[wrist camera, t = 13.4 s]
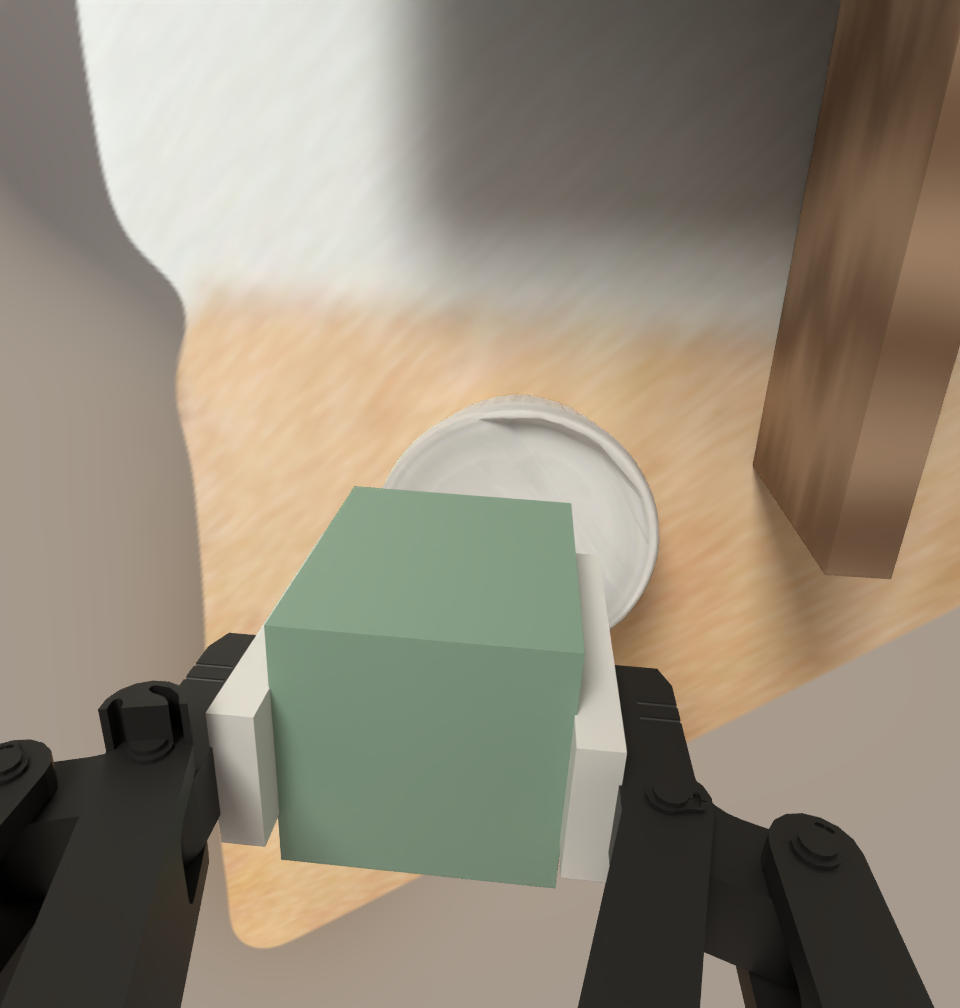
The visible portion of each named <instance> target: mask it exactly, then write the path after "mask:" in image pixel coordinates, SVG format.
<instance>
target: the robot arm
mask: <svg viewBox="0 0 960 1008" xmlns="http://www.w3.org/2000/svg"><path fill="white" fill-rule="evenodd" d="M323 534H324V533H323ZM323 534H322V536H323ZM322 536H321V537H322ZM321 537H320V539H321ZM320 539H319V540H320ZM319 540H318V542H319ZM318 542H317V543H318ZM317 543H316V545H317ZM316 545H315V546H316ZM315 546H314V548H315ZM314 548H313V549H314ZM313 549H312V551H313ZM312 551H311V552H312ZM311 552H310V554H311ZM310 554H309V555H308V557H309V556H310ZM308 557H307V559H308ZM307 559H306V560H307ZM306 560H305V562H306ZM576 561H577V572H578V583H579V594H580V604H581V615H582V626H583V637H584V648H585V658H584V665H583V673H582V681H581V689H580V697H579V705H578V713H577V715H575V717H574V725H573V734H572V742H571V750H570V759H569V767H568V775H567V783H566V792H565V800H564V808H563V817H562V825H561V833H560V878H566V879H577V880H585V881H595V882H604V883H606V884H605V889H604V893H603V898H602V902H601V907H600V911H599V916H598V920H597V924H596V929H595V933H594V938H593V942H592V947H591V951H590V956H589V960H588V965H587V969H586V974H585V978H584V982H583V987H582V992H581V996H580V1000H579V1005H578V1008H700V998H701V985H702V984H701V983H702V971H703V957H704V952H705V953H707V954H710V955H712V956H715V957H717V958H719V959H722V960H724V961H726V962H729V963H731V964H734V965H736V969H737V973H738V977H739V982H740V986H741V990H742V994H743V999H744V1003H745V1008H934V1006H933V1004H932V1002H931V999H930V998H929V995H928V993H927V991H926V989H925V986H924V984H923V982H922V980H921V978H920V976H919V974H918V971H917V969H916V967H915V965H914V963H913V960H912V959H911V956H910V954H909V952H908V950H907V948H906V945H905V943H904V941H903V939H902V937H901V935H900V933H899V930H898V928H897V926H896V924H895V922H894V919H893V917H892V915H891V913H890V911H889V909H888V907H887V904H886V902H885V900H884V898H883V895H882V893H881V891H880V889H879V887H878V885H877V882H876V880H875V878H874V876H873V874H872V872H871V870H870V867H869V865H868V863H867V861H866V859H865V856H864V854H863V853H862V851H861V850H860V848H859V847H858V846H857V844H856V843H855V841H854V840H853V839H852V838H851V837H850V836H849V835H847V834H846V833H845V832H844V831H842V830H841V829H840V828H839V827H838V826H836V825H833V824H831V823H830V822H828V821H826V820H824V819H822V818H819V817H815V816H811V815H807V814H803V813H798V814H785V815H783V816H781V817H779V818H777V819H775V820H774V821H773V823H772V825H771V826H770V828H769V829H767V828H764V827H761V826H758V825H755V824H752V823H750V822H747V821H744V820H741V819H739V818H737V817H734V816H732V815H730V814H728V813H726V812H724V811H723V810H721V809H720V808H718V807H717V806H715V805H714V804H713V803H712V798H711V797H710V795H709V794H708V793H707V791H706V790H705V788H704V787H703V786H702V785H701V784H700V783H698V782H697V781H696V779H695V776H694V772H693V768H692V764H691V760H690V756H689V752H688V748H687V744H686V740H685V736H684V732H683V728H682V724H681V723H680V716H679V712H678V708H676V705H677V704H676V700H675V696H674V692H673V688H672V686H671V684H670V683H669V682H668V681H667V680H666V679H665V677H664V676H663V675H662V674H661V673H660V672H659V670H658V669H653V668H642V667H631V666H619V665H614V658H613V651H612V644H611V637H610V629H609V622H608V615H607V608H606V601H605V594H604V587H603V580H602V573H601V566H600V559H599V555H592V554H579V553H576ZM305 562H304V563H305ZM304 563H303V565H304ZM303 565H302V566H303ZM302 566H301V568H302ZM301 568H300V569H301ZM300 569H299V571H300ZM299 571H298V572H299ZM298 572H297V574H298ZM297 574H296V575H297ZM296 575H295V577H296ZM295 577H294V578H293V580H294V579H295ZM293 580H292V581H291V583H292V582H293ZM291 583H290V585H291ZM290 585H289V586H290ZM289 586H288V588H289ZM288 588H287V589H288ZM287 589H286V591H287ZM286 591H285V592H286ZM285 592H284V594H285ZM284 594H283V595H284ZM283 595H282V597H283ZM282 597H281V598H280V600H281V599H282ZM280 600H279V601H278V603H279V602H280ZM278 603H277V604H276V606H277V605H278ZM276 606H275V607H274V609H275V608H276ZM274 609H273V611H274ZM273 611H272V612H273ZM272 612H271V614H272ZM271 614H270V615H271ZM270 615H269V617H270ZM269 617H268V618H269ZM268 618H267V620H268ZM267 620H266V621H265V623H266V622H267ZM265 623H264V624H263V626H262V627H261V629H260V630H259V632H258V633H257V635H248V634H237V633H228V634H227V635H225V636H223V637H222V638H220V639H219V640H217V641H216V642H214V643H213V644H211V645H210V646H208V648H207V649H206V650H205V652H204V653H203V655H202V656H201V657H200V658H199V660H198V661H197V662H196V666H194V667H193V668H192V669H191V671H190V672H189V673H188V675H187V677H186V680H183V681H182V683H181V684H180V685H176V684H173V683H171V682H166V681H149V682H143V683H137V684H134V685H131V686H129V687H126V688H123V689H121V690H119V691H117V692H116V693H114V694H113V695H111V696H110V697H109V698H107V699H106V700H105V701H104V703H103V704H102V705H101V706H100V708H99V709H98V712H99V716H100V722H101V727H102V732H103V737H104V742H105V748H106V753H105V754H102V755H98V756H93V757H88V758H80V759H72V760H65V761H58V762H54V761H53V757H52V752H51V750H50V749H49V748H48V747H47V746H46V745H45V744H44V743H42V742H38V741H34V740H13V741H9V742H5V743H1V744H0V1008H181V1002H182V997H183V992H184V987H185V982H186V977H187V971H188V966H189V962H190V957H191V951H192V946H193V941H194V936H195V931H196V926H197V921H198V915H199V911H200V906H201V900H202V895H203V890H204V885H205V880H206V875H207V869H208V865H209V853H208V844H207V839H208V837H209V836H210V834H211V832H212V830H213V828H214V826H215V824H216V822H217V820H218V818H219V826H220V834H221V842H224V843H234V844H243V845H253V846H262V847H265V846H266V844H267V841H268V839H269V837H270V834H271V832H272V830H273V827H274V825H275V823H276V820H277V818H278V816H279V801H278V788H277V775H276V762H275V749H274V736H273V723H272V710H271V697H270V688H269V686H268V672H267V659H266V645H265V632H264V625H265ZM609 865H610V866H609ZM608 869H609V870H608Z"/></svg>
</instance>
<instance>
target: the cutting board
mask: <svg viewBox="0 0 960 1008" xmlns="http://www.w3.org/2000/svg"><path fill="white" fill-rule="evenodd" d="M959 346H960V0H841V3H840V8H839V14H838V19H837V24H836V29H835V35H834V40H833V45H832V51H831V56H830V61H829V66H828V72H827V77H826V82H825V87H824V93H823V98H822V103H821V109H820V114H819V119H818V124H817V130H816V135H815V140H814V145H813V151H812V156H811V161H810V167H809V172H808V177H807V182H806V188H805V193H804V198H803V203H802V209H801V214H800V219H799V225H798V230H797V235H796V240H795V246H794V251H793V256H792V261H791V267H790V272H789V277H788V283H787V288H786V293H785V298H784V304H783V309H782V314H781V319H780V325H779V330H778V335H777V341H776V346H775V351H774V356H773V362H772V367H771V372H770V377H769V383H768V388H767V393H766V399H765V404H764V409H763V414H762V420H761V425H760V430H759V436H758V441H757V446H756V451H755V457H754V462H753V466H754V468H755V469H756V471H757V472H758V474H759V475H760V477H761V478H762V480H763V481H764V483H765V485H766V486H767V488H768V489H769V491H770V492H771V494H772V495H773V497H774V498H775V500H776V501H777V503H778V504H779V506H780V507H781V509H782V510H783V512H784V513H785V515H786V516H787V518H788V519H789V521H790V522H791V524H792V525H793V527H794V528H795V530H796V531H797V533H798V535H799V536H800V538H801V539H802V541H803V542H804V544H805V545H806V547H807V548H808V550H809V551H810V553H811V554H812V556H813V557H814V559H815V560H816V562H817V563H818V565H819V566H820V568H821V569H822V571H823V572H824V574H825V575H835V576H850V577H865V578H881V579H891V577H892V574H893V571H894V567H895V564H896V560H897V557H898V554H899V550H900V547H901V543H902V540H903V537H904V533H905V530H906V526H907V523H908V520H909V516H910V513H911V509H912V506H913V503H914V499H915V496H916V492H917V489H918V485H919V482H920V479H921V475H922V472H923V468H924V465H925V462H926V458H927V455H928V451H929V448H930V445H931V441H932V438H933V434H934V431H935V428H936V424H937V421H938V417H939V414H940V411H941V407H942V404H943V400H944V397H945V394H946V390H947V387H948V383H949V380H950V376H951V373H952V370H953V366H954V363H955V359H956V356H957V353H958V349H959Z"/></svg>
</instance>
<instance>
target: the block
mask: <svg viewBox="0 0 960 1008" xmlns="http://www.w3.org/2000/svg"><path fill="white" fill-rule="evenodd" d="M264 632H265V645H266V659H267V672H268V686H269V688H270V697H271V710H272V723H273V736H274V749H275V762H276V775H277V788H278V801H279V816H278V822H279V835H280V849H281V860H291V861H300V862H310V863H319V864H329V865H338V866H348V867H357V868H367V869H376V870H386V871H395V872H405V873H414V874H424V875H433V876H442V877H452V878H461V879H471V880H481V881H490V882H499V883H509V884H519V885H528V886H538V887H547V888H555V886H556V877H557V870H558V862H559V855H560V833H561V825H562V817H563V808H564V800H565V792H566V783H567V775H568V767H569V759H570V750H571V742H572V734H573V725H574V717H575V715H577V713H578V705H579V697H580V689H581V681H582V673H583V665H584V658H585V648H584V637H583V626H582V615H581V604H580V594H579V583H578V572H577V561H576V550H575V539H574V528H573V517H572V506H571V503H564V502H551V501H538V500H525V499H512V498H500V497H487V496H474V495H461V494H448V493H435V492H422V491H409V490H397V489H384V488H371V487H358V486H354V488H353V489H352V491H351V493H350V494H349V496H348V497H347V499H346V500H345V502H344V503H343V505H342V506H341V508H340V509H339V511H338V513H337V514H336V516H335V517H334V519H333V520H332V522H331V523H330V525H329V526H328V528H327V529H326V531H325V532H324V534H323V536H322V537H321V539H320V540H319V542H318V543H317V545H316V546H315V548H314V549H313V551H312V552H311V554H310V556H309V557H308V559H307V560H306V562H305V563H304V565H303V566H302V568H301V569H300V571H299V572H298V574H297V575H296V577H295V579H294V580H293V582H292V583H291V585H290V586H289V588H288V589H287V591H286V592H285V594H284V595H283V597H282V599H281V600H280V602H279V603H278V605H277V606H276V608H275V609H274V611H273V612H272V614H271V615H270V617H269V618H268V620H267V622H266V623H265V625H264Z"/></svg>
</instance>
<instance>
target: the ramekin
mask: <svg viewBox="0 0 960 1008" xmlns="http://www.w3.org/2000/svg"><path fill="white" fill-rule="evenodd" d="M383 488H384V489H397V490H409V491H422V492H435V493H448V494H461V495H474V496H487V497H500V498H512V499H525V500H538V501H551V502H564V503H571V506H572V517H573V528H574V539H575V550H576V553H579V554H592V555H599V559H600V566H601V573H602V580H603V587H604V594H605V601H606V608H607V615H608V622H609V629H612V628H613V627H614V626H615V625H617V624H618V623H619V622H620V621H622V620H623V619H624V618H625V617H626V616H627V614H628V613H629V612H630V611H631V610H632V608H633V607H634V606H635V604H636V603H637V602H638V600H639V599H640V597H641V596H642V594H643V592H644V591H645V589H646V587H647V585H648V583H649V580H650V578H651V575H652V573H653V570H654V567H655V563H656V560H657V554H658V547H659V524H658V514H657V509H656V505H655V502H654V498H653V495H652V492H651V490H650V488H649V485H648V483H647V481H646V479H645V477H644V475H643V473H642V471H641V469H640V468H639V466H638V465H637V463H636V462H635V460H634V459H633V458H632V456H631V455H630V454H629V452H628V451H627V450H626V449H625V448H624V447H623V446H622V445H621V444H620V443H619V442H618V441H617V440H616V439H615V438H614V437H613V436H611V435H610V434H609V433H608V432H606V431H605V430H603V429H602V428H600V427H599V426H597V425H596V424H595V423H594V422H592V421H590V420H589V419H588V418H587V417H586V416H585V415H583V414H581V413H579V412H577V411H575V410H574V409H573V408H571V407H568V406H564V405H562V404H560V403H559V402H556V401H551V400H547V399H545V398H542V397H534V396H531V395H513V394H512V395H508V396H497V397H494V398H491V399H486V400H482V401H480V402H478V403H475V404H471V405H469V406H467V407H466V408H464V409H462V410H460V411H458V412H456V413H454V414H453V415H452V416H451V417H449V418H447V419H445V420H443V421H441V422H439V423H438V424H436V425H435V426H433V427H431V428H430V429H428V430H427V431H426V432H424V433H423V434H422V435H421V436H420V437H418V438H417V439H416V440H415V441H414V442H413V443H412V444H411V445H410V446H409V447H408V448H407V449H406V450H405V452H404V453H403V454H402V455H401V456H400V458H399V459H398V460H397V462H396V464H395V465H394V467H393V468H392V470H391V472H390V474H389V475H388V477H387V479H386V481H385V484H384V486H383Z"/></svg>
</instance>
